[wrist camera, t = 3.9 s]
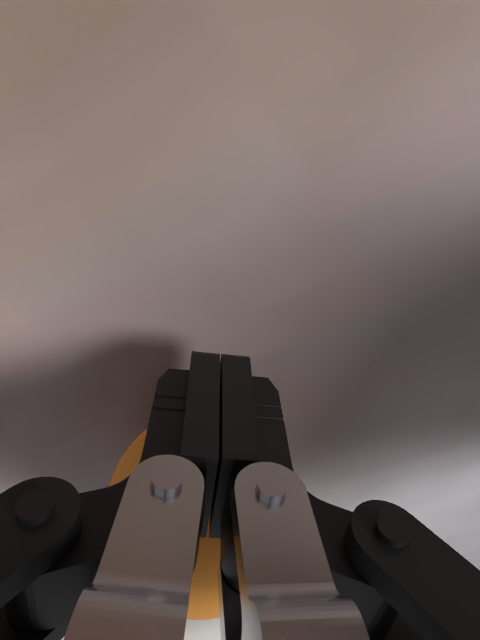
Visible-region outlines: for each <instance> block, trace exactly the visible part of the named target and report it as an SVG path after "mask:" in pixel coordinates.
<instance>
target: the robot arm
mask: <svg viewBox="0 0 480 640" xmlns="http://www.w3.org/2000/svg"><path fill="white" fill-rule="evenodd" d="M209 516H210V527H209V538H220V562H219V567H218V573H217V582H218V598H219V613H220V629H221V640H480V570H478V569H477V568H476V567H475V566H474V565H472V564H471V563H470V562H469V561H467V560H466V559H465V558H464V557H463V556H461V555H460V554H459V553H458V552H456V551H455V550H454V549H453V548H451V547H450V546H449V545H448V544H447V543H445V542H444V541H443V540H442V539H440V538H439V537H438V536H437V535H436V534H434V533H433V532H432V531H431V530H429V529H428V528H427V527H426V526H425V525H423V524H422V523H421V522H420V521H418V520H417V519H416V518H415V517H414V516H412V515H411V514H410V513H408V512H407V511H406V510H404V509H403V508H401V507H399V506H397V505H395V504H393V503H390V502H386V501H381V500H370V501H366V502H363V503H361V504H360V505H358V506H357V507H356V508H355V510H354V512H351V511H348V510H345V509H342V508H340V507H337V506H334V505H331V504H328V503H326V502H324V501H321V500H319V499H318V498H316V497H314V496H313V495H312V494H310V493H309V492H308V491H307V490H306V488H305V485H304V484H303V482H302V480H301V479H300V478H299V477H298V476H297V475H296V474H295V473H294V472H293V468H292V463H291V457H290V452H289V447H288V441H287V436H286V431H285V425H284V421H283V414H282V409H281V404H280V398H279V393H278V390H277V389H276V388H275V386H274V385H273V384H272V382H271V381H270V380H269V379H268V378H265V377H254V376H252V374H251V364H250V357H246V356H236V355H226V354H222V355H221V360H220V354H215V353H204V352H194V351H192V356H191V364H190V371H189V370H178V369H168V370H167V371H166V373H165V374H164V375H163V376H162V377H161V378H160V379H159V380H158V383H157V387H156V392H155V398H154V401H153V406H152V410H151V415H150V419H149V424H148V428H147V433H146V437H145V442H144V447H143V451H142V456H141V459H140V462H139V464H138V465H137V466H136V467H135V468H134V470H133V471H132V473H131V474H130V475H129V476H128V477H127V478H125V479H124V480H123V481H121V482H119V483H117V484H115V485H112V486H110V487H107V488H103V489H98V490H94V491H89V492H84V493H79V494H78V492H77V490H76V489H75V487H74V486H73V485H71V484H70V483H69V482H67V481H65V480H63V479H59V478H56V477H38V478H33V479H29V480H26V481H23V482H21V483H18V484H16V485H15V486H13V487H11V488H9V489H8V490H6V491H4V492H3V493H1V494H0V640H61V639H62V638H63V637H64V636H65V637H64V639H63V640H184V634H185V627H186V619H187V612H188V604H189V596H190V588H191V581H192V574H193V572H194V570H195V567H196V563H197V556H198V550H199V543H200V537H203V538H206V535H207V529H208V522H209Z"/></svg>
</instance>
